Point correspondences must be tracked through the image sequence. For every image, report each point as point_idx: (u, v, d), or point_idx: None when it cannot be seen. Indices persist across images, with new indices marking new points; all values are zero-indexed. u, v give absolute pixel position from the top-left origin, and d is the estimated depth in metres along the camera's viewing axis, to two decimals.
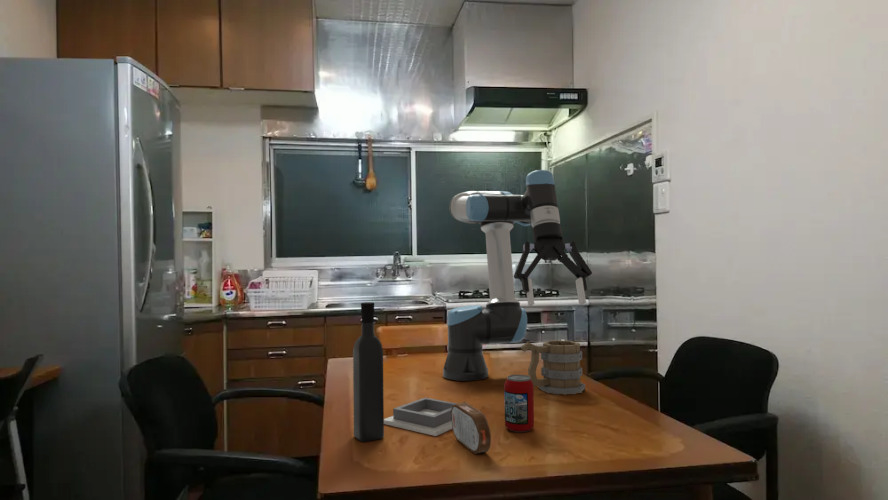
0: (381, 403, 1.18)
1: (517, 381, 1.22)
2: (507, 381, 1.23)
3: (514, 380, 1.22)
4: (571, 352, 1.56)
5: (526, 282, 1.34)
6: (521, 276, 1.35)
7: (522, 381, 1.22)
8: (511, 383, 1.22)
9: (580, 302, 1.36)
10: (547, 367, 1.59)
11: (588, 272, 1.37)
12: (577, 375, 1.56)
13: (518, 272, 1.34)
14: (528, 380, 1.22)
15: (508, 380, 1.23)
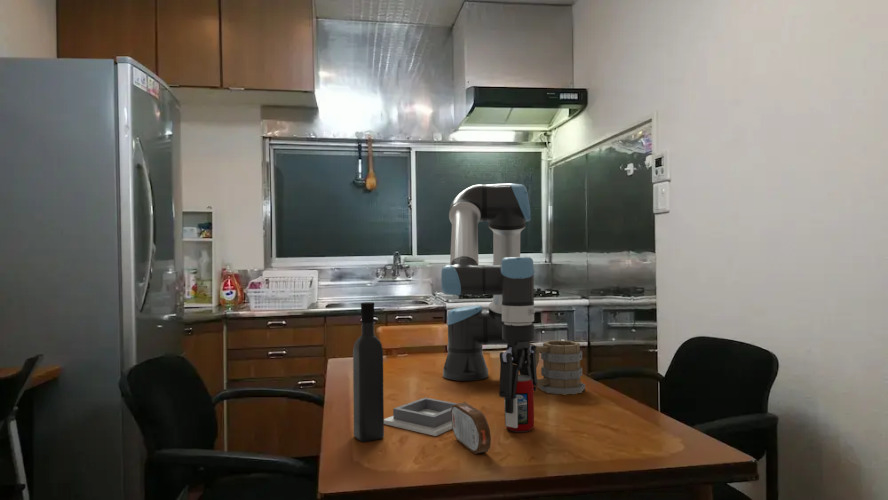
0: (381, 403, 1.18)
1: (517, 381, 1.22)
2: None
3: None
4: (571, 352, 1.56)
5: (512, 402, 1.20)
6: None
7: (522, 381, 1.22)
8: None
9: None
10: (547, 367, 1.59)
11: (535, 383, 1.29)
12: (577, 375, 1.56)
13: (509, 394, 1.18)
14: (528, 380, 1.22)
15: None
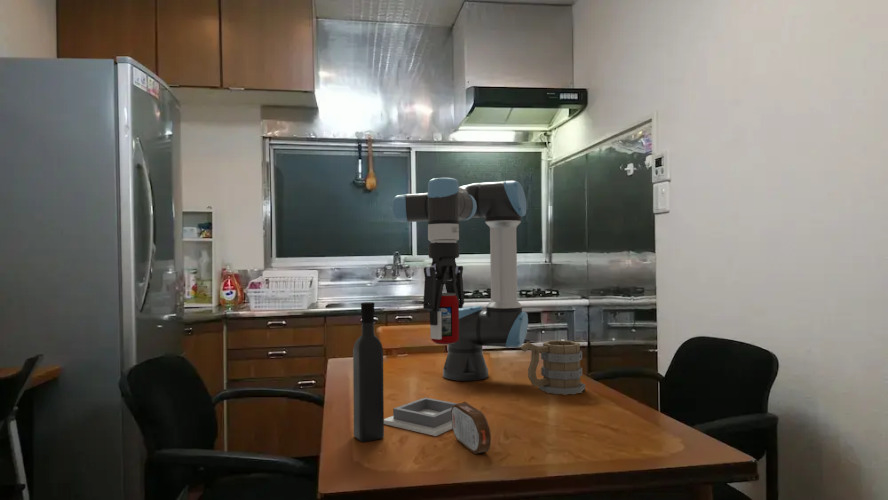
0: (381, 403, 1.18)
1: (442, 295, 1.27)
2: None
3: None
4: (571, 352, 1.56)
5: (436, 315, 1.26)
6: (433, 309, 1.25)
7: (446, 295, 1.27)
8: None
9: None
10: (547, 367, 1.59)
11: (462, 301, 1.34)
12: (577, 375, 1.56)
13: (432, 305, 1.24)
14: (452, 295, 1.28)
15: None
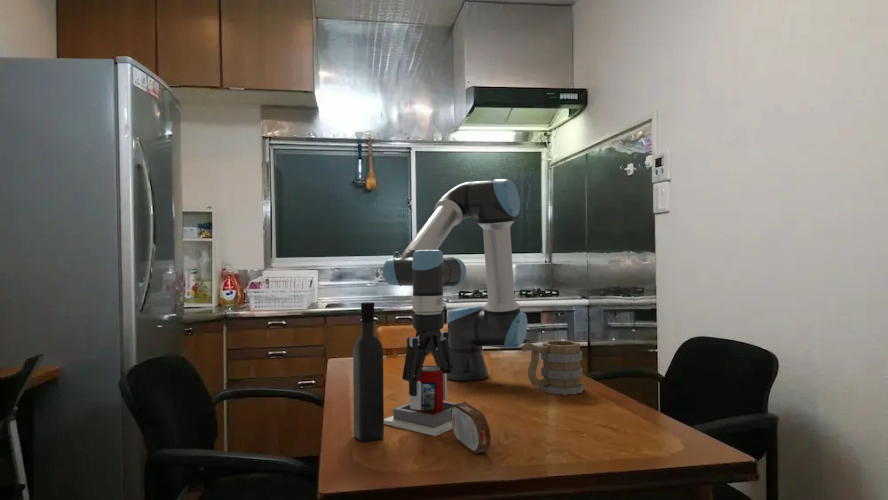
0: (381, 403, 1.18)
1: (426, 371, 1.28)
2: None
3: (423, 370, 1.29)
4: (571, 352, 1.56)
5: (415, 386, 1.26)
6: None
7: (430, 371, 1.28)
8: (420, 373, 1.29)
9: None
10: (547, 367, 1.59)
11: (450, 366, 1.36)
12: (577, 375, 1.56)
13: (411, 377, 1.24)
14: (437, 370, 1.29)
15: None
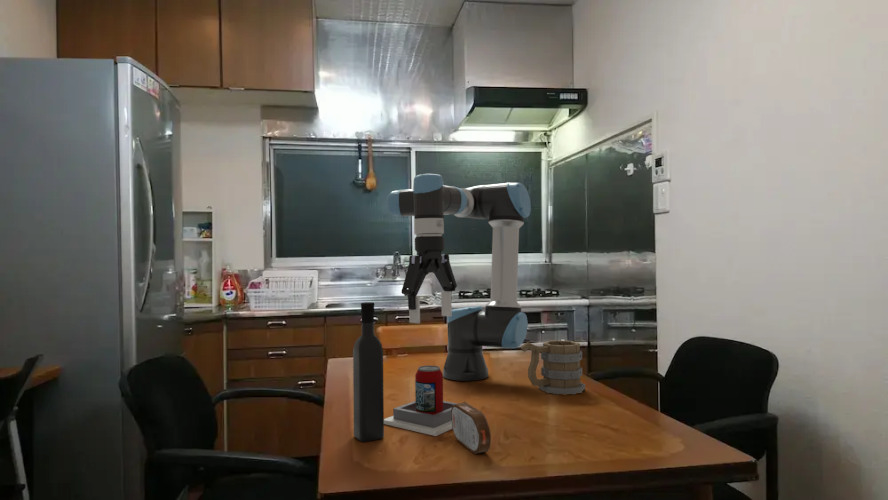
0: (381, 403, 1.18)
1: (425, 371, 1.28)
2: (417, 371, 1.30)
3: (423, 370, 1.29)
4: (571, 352, 1.56)
5: (414, 300, 1.29)
6: (411, 293, 1.28)
7: (430, 371, 1.28)
8: (420, 373, 1.29)
9: (444, 314, 1.41)
10: (547, 367, 1.59)
11: (454, 285, 1.42)
12: (577, 375, 1.56)
13: (410, 290, 1.27)
14: (436, 370, 1.29)
15: (418, 370, 1.30)
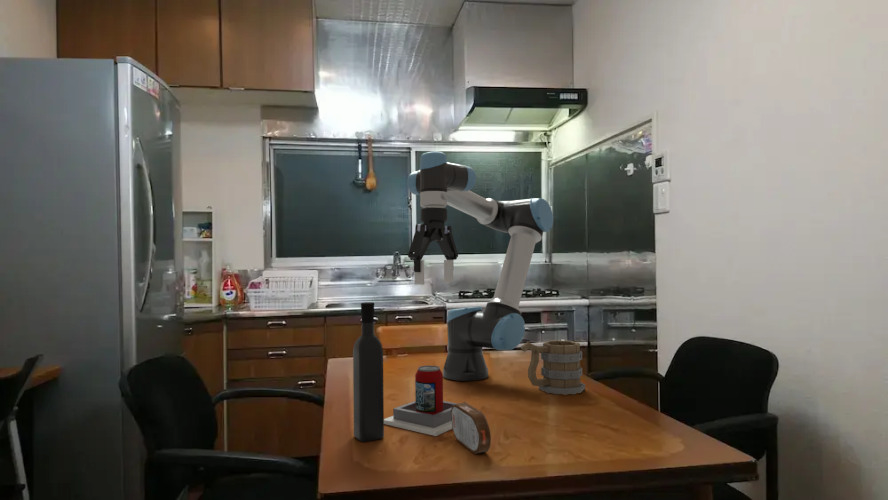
0: (381, 403, 1.18)
1: (425, 371, 1.28)
2: (417, 371, 1.30)
3: (423, 370, 1.29)
4: (571, 352, 1.56)
5: (419, 263, 1.44)
6: (416, 257, 1.43)
7: (430, 371, 1.28)
8: (420, 373, 1.29)
9: (447, 280, 1.55)
10: (547, 367, 1.59)
11: (456, 255, 1.57)
12: (577, 375, 1.56)
13: (416, 254, 1.42)
14: (436, 370, 1.29)
15: (418, 370, 1.30)
